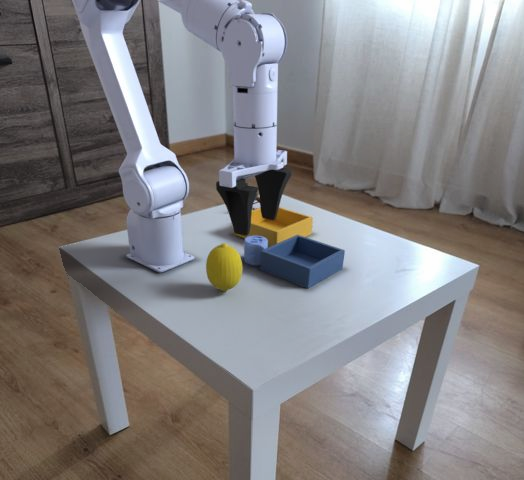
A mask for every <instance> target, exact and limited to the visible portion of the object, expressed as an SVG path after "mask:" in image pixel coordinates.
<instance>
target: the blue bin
mask: <svg viewBox="0 0 524 480" xmlns="http://www.w3.org/2000/svg"><path fill="white" fill-rule="evenodd" d="M345 252H346V250H345V249H342V248H339V247H336V246H333V245H330V244H328V243H324V242H322V241H318V240H316V239H312V238H309V237H307V236H306V237H303V236H300V235H295V236H293V237H291V238H289V239H286V240H284V241H282V242H280V243H277V244H275V245H273V246H271V247H268V248H266V249H264V250H262V251H261V265H260V270H261V271H263V272H265V273H268V274H271V275H273V276H275V277H278V278H280V279H283V280H286V281H288V282H290V283H293V284H295V285H298V286H301V287H303V288H306V289H310V288H311V287H314V286H315V285H317V284H319V283H321V282H322V281H324V280H326V279H328V278H330V277H331V276H333V275H334V274H336V273H338V272H339V271H342V270H343V268H344V260H345Z"/></svg>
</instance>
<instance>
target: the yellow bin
mask: <svg viewBox="0 0 524 480" xmlns="http://www.w3.org/2000/svg"><path fill="white" fill-rule="evenodd" d="M254 209H255V210H252V214H251V227H250V232H249V235H247V236H245V235H240V234H236V233H235V232H234V229H233V228H232V235H233V236H237V237H239V238H242V239H245V238H247V237H249V236H262V237H265V238H266V239H267V240H268V247H271V246H273V245H275V244H277V243H280V242H282V241H284V240H286V239H289V238H291V237H293V236H295V235H300V236H303V237H306V238H307V237H308V236H310V235H312V232H313V222H314V220H313V219H314V217H313V216H310V215H306V214H303V213H300V212H297V211H294V210H290V209H287V208H283V207H280V206H279V209H278V213H277V216H276V219H275V220H271V219H266V218H262V215H261V209H260V207H257V209H256V208H254Z"/></svg>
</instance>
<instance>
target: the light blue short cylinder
mask: <svg viewBox="0 0 524 480" xmlns="http://www.w3.org/2000/svg"><path fill="white" fill-rule="evenodd" d="M243 240H244V245H243V261H244V262H245V264H246V265H250V266H253V267H254V266H256V267H257V266H261V251H262V250H264V249H266V248H268V240H267V239H266V238H265V237H262V236H249V237H247V238H244V239H243Z"/></svg>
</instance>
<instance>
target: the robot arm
mask: <svg viewBox="0 0 524 480" xmlns="http://www.w3.org/2000/svg"><path fill="white" fill-rule="evenodd" d="M156 1H158V2H159V3H161V4H163V5H164V6H166V7H168V8H169V9H172V10H173V11H175V12H177V13H179V14H180V15H181V21H182V24H183V26H184V28H185V29H186V31H188V32H189V33H191V34H192V35H194V36H195V37H197V38H198V39H200V40H201V41H203V42H204V43H206V44H207V45H209V46H211V47H213V48H214V49H215V50H217V51H219V52H220V53H221V55H222V57H223V60H224V62H225V64H226V66H227V67H228V73H229V74H228V75H229V81H230V82H231V85H232V86H231V88H232V91H231V92H232V117H233V118H232V121H233V122H232V123H233V124H232V125H233V159H232V160H231V161H230V162H229V163H227V165H226V166H225V167H223V168H222V169H219V170H218V177H219V178H218V179H219V180H217V181H216V182H215V189H216V191H217V193H218V194H219V196H220V198H221V199H222V200H223V203H224V205H225V208H226V210H227V212H228V215H229V218H230V222H231V227H232V230H233V229H234V232H235V233H236V234H240V235H245V236H247V235H249V232H250V227H251V214H252V208H254V204H253V203H255V201H254V199H255V196H256V193H257V194H258V196H259V197H260V203H259V208H260V209H261V215H262V218H266V219H271V220H275V219H276V216H277V213H278V209H279V207H280V204H281V200H282V196H283V194H284V192H285V188H286V186H287V184H288V182H289V180H290V179H291V177H292V175H293V170H292V169H291V168H289V167H285V166H286V165H287V164H288V151H287V150H282V149H277V143H278V139H277V138H278V91H279V90H278V85H279V84H278V83H279V80H278V78H279V65H280V63H281V62H282V61H283V60H284V57H285V55H286V53H287V49H288V35H287V30H286V28H285V25H284V24H283V23H282V22H281V20H280V19H279V18H278V17H276V15H275V14H274V13H273V12H267V11H266V12H261V13H255V11H254V10H253V9H252V8H253V4H252V2H250V1H248V0H156ZM71 2H72V5H73V8H74V10H75V13H76V17H77V19H78V21H79V26H80V29H81V33H82V35H83V38H84V41H85V43H86V46H87V49H88V52H89V55H90V57H91V59H92V63H93V65H94V68H95V70H96V73H97V76H98V79H99V81H100V85H101V87H102V89H103V93H104V95H105V98H106V101H107V103H108V106H109V108H110V111H111V114H112V117H113V119H114V122H115V126H116V127H117V130H118V134H119V135H120V138H121V141H122V143H123V146H124V148H125V152H126V156H125V157H124V160H123V162H122V163H121V165H120V167H119V168H118V174H119V176H120V180H121V185H122V194H123V198H124V200H125V203H126V205H127V206H128V207H129V211H128V213H127V216H126V223H125V224H126V231H127V239H128V247H129V253H126V255H125V256H126V258H127V259H129V260H132V261H134V262H136V263H138V264H140V265H142V266H145V267H147V268H148V269H151V270H153V271H155V272H157V273H164V272H166V271H169V270H171V269H174V268H176V267H178V266H181V265H184V264H186V263H189V262H191V261H193V260H195V256H194V255H192V254H190V253H187V252H186V251H184V241H183V225H182V208H183V207H184V201H185V200H186V199H187V197H189V196H188V195H189V192H190V182H189V179H188V176H187V173H186V172H185V170H184V169H183V168H182V167H181V165H180V163H179V161H178V159H177V156H176V153H175V152H173V151H171V150H170V149H169V148H167V147H165V146H164V145H162V144H161V142H160V139H159V136H158V133H157V130H156V127H155V124H154V121H153V118H152V116H151V112H150V110H149V109H150V108H149V106H148V104H147V100H146V98H145V94H144V92H143V89H142V87H141V83H140V79H139V78H138V75H137V71H136V69H135V66H134V63H133V60H132V57H131V54H130V51H129V48H128V46H127V43H126V40H125V37H124V34H123V33H124V28H125V26H126V24H127V23H128V22H129V21H130V20H131V18H132V16H133V15H134V12H135V11H136V9H137V7H138V6H139V4H140V3H141V0H71ZM149 167H151V169H147V170H145V169H146V168H149ZM253 177H254V178H255V181H256V185H257V186H254V185H253V186H252V185H249V184H248V182H247V181H246V180H248V179H251V178H253Z"/></svg>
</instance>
